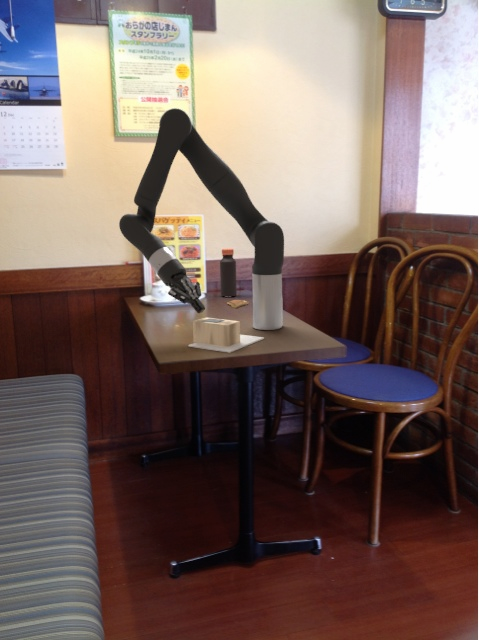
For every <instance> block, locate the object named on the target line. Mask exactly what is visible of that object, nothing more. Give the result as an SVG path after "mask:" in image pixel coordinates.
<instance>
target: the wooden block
mask: <svg viewBox="0 0 479 640" xmlns="http://www.w3.org/2000/svg"><path fill="white" fill-rule="evenodd" d="M192 332H193V335H192V337H193V343H196V342H200V343H206V344H213V345H220V346H227V347H229V346H231V345H234V344H237V343H239V342H240V334H241V321H240V320H239V321H238V320H232V319H222V318H213V317H202V318H199V319H195V320H192Z"/></svg>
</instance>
